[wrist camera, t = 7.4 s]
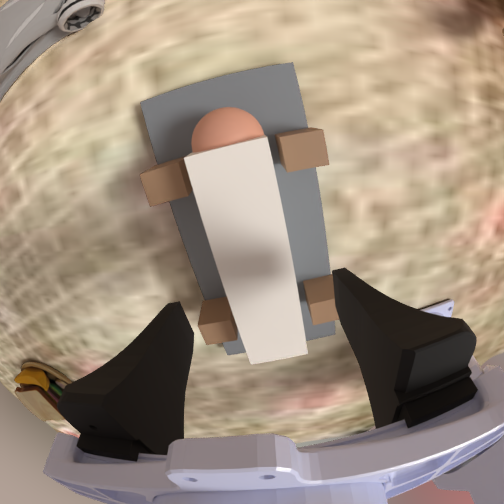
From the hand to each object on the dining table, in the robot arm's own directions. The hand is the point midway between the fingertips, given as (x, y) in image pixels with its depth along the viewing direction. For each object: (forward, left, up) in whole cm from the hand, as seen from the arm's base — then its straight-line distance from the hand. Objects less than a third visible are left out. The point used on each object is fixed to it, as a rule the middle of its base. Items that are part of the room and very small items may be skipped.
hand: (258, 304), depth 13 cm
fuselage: (0, 0, -8) cm, 8 cm away
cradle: (0, 0, -9) cm, 9 cm away
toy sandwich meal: (-17, +35, -10) cm, 40 cm away
